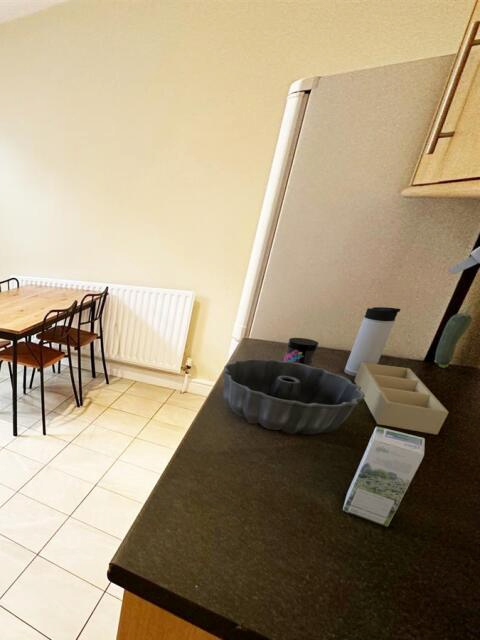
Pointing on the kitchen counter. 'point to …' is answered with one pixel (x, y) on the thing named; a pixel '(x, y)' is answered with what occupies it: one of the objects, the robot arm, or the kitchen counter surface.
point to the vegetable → (453, 335)
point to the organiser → (400, 398)
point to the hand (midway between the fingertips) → (451, 271)
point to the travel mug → (371, 338)
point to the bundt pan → (289, 395)
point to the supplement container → (300, 351)
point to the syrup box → (384, 475)
